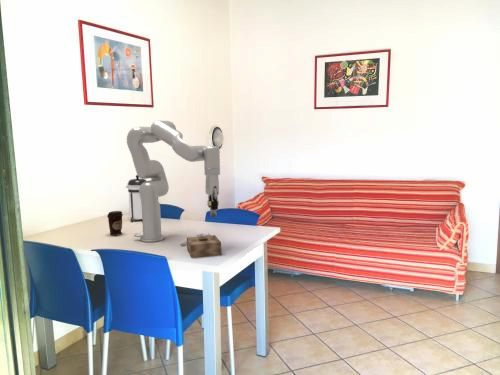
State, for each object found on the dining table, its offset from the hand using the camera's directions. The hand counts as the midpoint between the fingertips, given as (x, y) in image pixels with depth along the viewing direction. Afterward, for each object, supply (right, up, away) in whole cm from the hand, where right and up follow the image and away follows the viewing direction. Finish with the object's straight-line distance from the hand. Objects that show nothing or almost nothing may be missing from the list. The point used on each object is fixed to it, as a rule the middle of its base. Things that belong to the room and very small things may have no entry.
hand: (213, 208), depth 201 cm
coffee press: (-54, -12, +70) cm, 89 cm away
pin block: (-4, -21, -7) cm, 22 cm away
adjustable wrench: (-11, -19, +15) cm, 26 cm away
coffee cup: (-57, -17, +30) cm, 67 cm away
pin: (0, -4, +1) cm, 4 cm away
